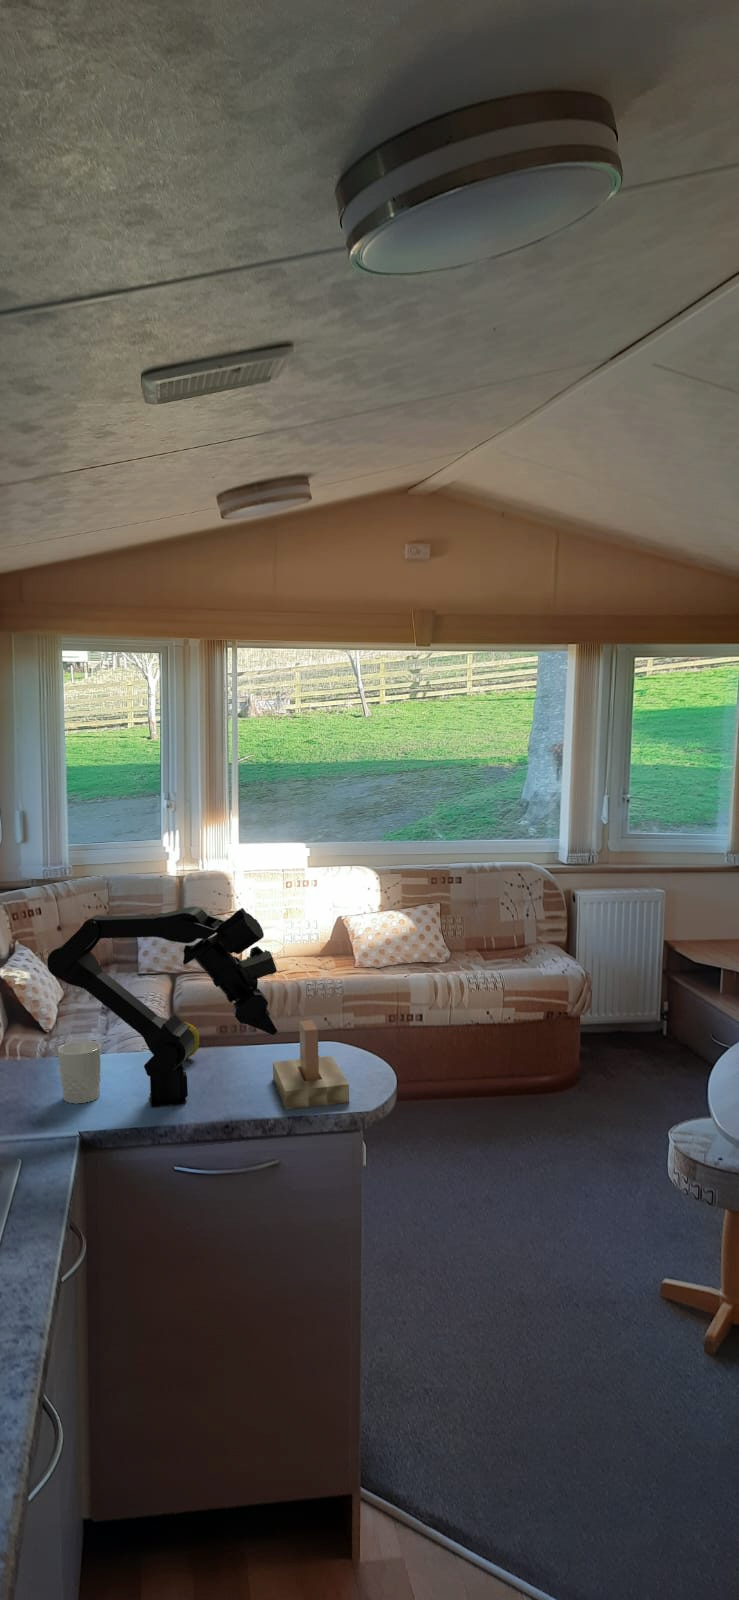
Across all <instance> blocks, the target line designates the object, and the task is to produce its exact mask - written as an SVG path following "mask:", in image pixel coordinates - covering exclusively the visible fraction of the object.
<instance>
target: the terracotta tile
mask: <svg viewBox="0 0 739 1600" xmlns="http://www.w3.org/2000/svg"><path fill="white" fill-rule="evenodd" d="M298 1023H299V1050H300V1051H299V1054H300V1055H299V1056H300V1057H299V1058H300V1065H301V1075H302V1077H303V1079H304V1081H310V1080H319V1060H318V1057H319V1030H318V1028H317V1025H316V1024H315V1022H314V1021H313V1020H312V1019H309V1020H308V1019H307V1020H300V1021H299V1022H298Z"/></svg>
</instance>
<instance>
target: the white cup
mask: <svg viewBox="0 0 739 1600" xmlns="http://www.w3.org/2000/svg"><path fill="white" fill-rule="evenodd" d="M101 1046H102V1045H101V1043H99V1042H97V1041H94V1040H77V1041H76V1040H75V1041H71V1042H67V1043H65V1044H62V1045H61V1046H58V1048H57V1055H58V1063H59V1064H58V1065H59V1074H60V1082H61V1087H62V1096H63V1100H65V1101H67V1102H69V1103H68V1104H71V1103H84V1104H87V1103H86V1102H88V1103H90V1101H92V1102H94V1101H95V1099H96V1100H98V1098H99V1097H100V1096H101V1091H100V1090H101V1087H100V1086H101V1085H100V1083H101V1073H102V1072H101V1069H102V1068H101V1064H102V1061H101V1054H102V1052H101V1048H102V1047H101ZM93 1100H94V1101H93ZM65 1101H64V1102H65ZM67 1102H66V1103H67Z"/></svg>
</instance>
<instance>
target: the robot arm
mask: <svg viewBox="0 0 739 1600" xmlns="http://www.w3.org/2000/svg"><path fill="white" fill-rule="evenodd" d="M264 936H265V935H264V929H263V928H262V926H261V924H260V922H259V921H258V920H257V918H254V917H253V915H252V914H250V913H248V912H246V910H245V908H243V907H242V908H240V909H238V910H236V912H234V913H233V915H231V916H230V917H229V918H227V919H226V920H224V919H220V918H217V917H214V916H212V915H209V914H207V913H206V911H204V910H203V908H201V907H199V906H190V907H184V908H180V909H176V910H173V911H168V912H165V913H160V914H136V915H135V914H134V915H132V914H131V915H107V916H106V915H101V914H97V915H93V916H91V917H90V918H88V919H87V920H85V921H84V922H83V923H82V925H81V927H79V929H78V930H77V931H76V932H75V933H74V934H73V935H71V937H70V938H69V939H68V940H67V941H66V942H65V943H63V944H62V945H60V946H58V947H57V948H55V949H53V950H52V951H51V952H50V953H49V955H48V957H47V960H46V961H47V962H46V963H47V971H48V972H49V973H50V974H51V975H52V976H53V977H55V978H56V979H58V980H60V981H62V982H64V983H66V984H68V985H70V986H74V987H77V988H81V989H83V990H85V991H86V992H88V994H90V995H91V996H93V997H94V998H95V999H96V1000H97V1001H99V1003H101V1004H102V1005H104V1007H106V1008H107V1009H108V1010H110V1011H111V1012H112V1013H113V1014H115V1015H116V1016H117V1017H118V1018H120V1019H121V1020H122V1021H124V1023H126V1024H127V1025H128V1026H130V1027H131V1028H132V1029H133V1030H134V1031H135V1032H137V1033H138V1034H139V1035H140V1036H141V1037H142V1038H143V1041H144V1042H145V1044H146V1046H147V1049H148V1050H149V1051H150V1053H151V1054H152V1055H153V1056H152V1057H151V1058H150V1059H148V1061H147V1062H145V1064H144V1066H143V1068H144V1071H145V1073H146V1075H147V1077H149V1087H150V1093H149V1099H150V1101H149V1102H150V1107H151V1108H156V1107H167V1106H175V1105H183V1104H184V1105H185V1104H187V1100H186V1099H187V1097H188V1096H189V1093H188V1090H189V1089H188V1074H187V1071H184V1064H183V1063H184V1062H185V1061H186V1060H187V1059H186V1057H187V1056H188V1055H189V1054H190V1053H191V1051H192V1050H193V1048H194V1045H195V1039H194V1035H193V1033H192V1032H191V1031H190V1030H189V1028H190V1026H189V1025H186V1024H184V1022H183V1021H182V1020H181V1018H179V1016H177V1015H175V1014H174V1013H173V1014H172V1015H171V1016H170V1017H169V1018H166V1017H163V1016H162V1017H161V1016H160V1015H158V1014H156V1013H155V1011H153V1010H152V1009H151V1008H150V1007H148V1006H147V1005H146V1004H144V1003H143V1002H142V1001H140V1000H139V999H138V998H137V996H134V995H133V994H132V993H131V992H130V991H128V990H127V989H126V987H123V986H122V985H121V984H120V983H119V982H117V981H116V980H115V979H113V978H112V977H111V976H110V975H108V974H107V973H106V972H105V971H104V970H103V969H102V968H101V966H100V964H99V961H98V960H97V958H96V956H95V955H94V954H93V952H92V951H93V950H94V949H95V948H96V946H97V945H98V943H99V942H100V941H101V939H123V938H125V939H127V938H128V939H129V938H133V939H134V938H159V939H163V940H166V941H168V942H175V943H181V944H185V946H184V948H183V960H182V964H183V965H187V964H189V963H190V962H191V961H193V960H194V961H195V962H196V963H197V964H198V965H199V966H200V967H201V969H202V970H203V971H204V972H205V973H206V974H207V975H208V977H210V979H211V980H212V983H213V984H214V986H215V987H216V988H219V989H220V990H221V991H222V993H223V994H224V995H225V997H226V999H227V1001H228V1002H229V1003H232V1002H234V1001H235V1002H234V1003H233V1005H232V1012H233V1016H234V1017H235V1018H236V1020H237V1021H238V1022H239V1023H240V1024H242V1025H248V1026H250V1027H253V1028H256V1029H258V1030H260V1031H262V1032H265V1033H267V1034H269V1035H272V1036H274V1035H276V1034H277V1033H278V1029H277V1027H276V1026H275V1024H274V1023H273V1021H272V1018H271V1017H270V1012H269V1011H268V1009H267V1008H268V1006H269V1001H268V999H267V997H266V995H265V994H264V993H263V992H262V991H261V989H259V988H258V984H259V981H258V980H259V979H260V978H261V979H262V978H263V977H266V976H268V975H270V976H271V975H274V974H275V973H277V972H278V969H277V967H276V963H275V960H274V957H273V955H272V953H271V951H270V950H267V949H265V950H263V949H261V948H260V947H259V946H258V945H257V946H254V947H252V946H253V945H255V944H257V942H259V941H261V940H262V939H263V938H264ZM200 939H201V940H200ZM197 940H199V941H197ZM195 941H197V942H196V943H194V944H191V943H193V942H195ZM188 944H191V945H188ZM250 947H251V948H250ZM249 948H250V951H249V956H247V957H246V959H245V958H244V959H243V960H240V958H239V957H238V956H235V955H233V954H236V955H240V954H242V953H243V952H244V951H246V950H247V949H249Z"/></svg>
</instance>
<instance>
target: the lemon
mask: <svg viewBox="0 0 739 1600" xmlns="http://www.w3.org/2000/svg"><path fill="white" fill-rule="evenodd" d="M183 1023H184V1024H186V1025H189V1026H190V1028H189V1030H190V1031H191V1032H192V1033H193V1035H194V1039H195V1045H194V1048H193V1050H192V1051H191V1053H190V1054H189V1055H188V1056H187V1057H186V1059H185V1060H188V1059H189V1058H190V1057H191V1056H194V1054H196V1052H197V1051H198V1049H199V1046H200V1035H199V1032H198V1029H197V1028H196V1027H195V1026H194V1025H193V1024H191V1023H188V1022H186V1021H184V1022H183Z"/></svg>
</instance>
